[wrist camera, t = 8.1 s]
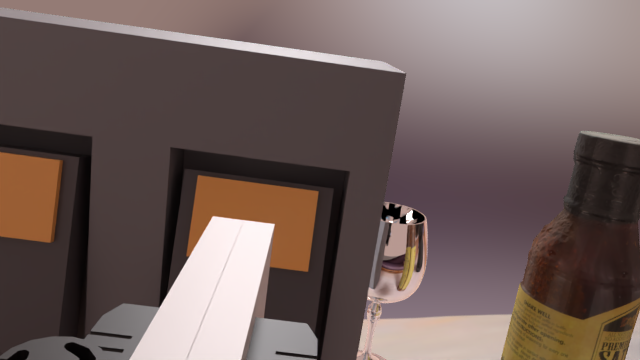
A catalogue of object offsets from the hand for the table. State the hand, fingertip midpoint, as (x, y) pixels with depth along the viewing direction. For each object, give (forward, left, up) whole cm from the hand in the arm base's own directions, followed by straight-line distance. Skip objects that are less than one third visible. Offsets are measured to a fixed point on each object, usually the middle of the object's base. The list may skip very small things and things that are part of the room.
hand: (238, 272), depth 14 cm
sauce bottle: (-18, -17, -17) cm, 30 cm away
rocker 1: (+10, -7, -10) cm, 16 cm away
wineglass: (-8, -24, -17) cm, 30 cm away
